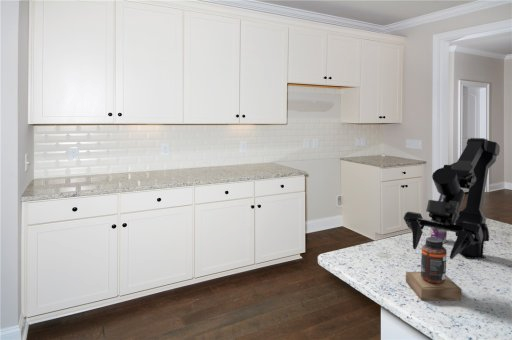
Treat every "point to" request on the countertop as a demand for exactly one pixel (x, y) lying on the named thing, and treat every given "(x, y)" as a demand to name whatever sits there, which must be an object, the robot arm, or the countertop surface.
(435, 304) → the countertop surface
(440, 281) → the supplement bottle
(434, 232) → the pill bottle
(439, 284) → the walnut plinth
